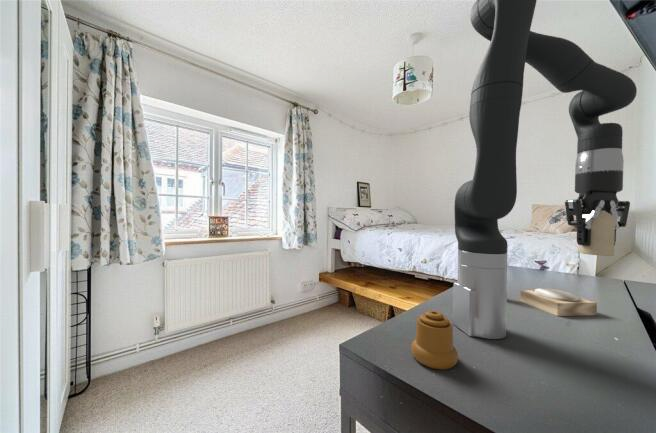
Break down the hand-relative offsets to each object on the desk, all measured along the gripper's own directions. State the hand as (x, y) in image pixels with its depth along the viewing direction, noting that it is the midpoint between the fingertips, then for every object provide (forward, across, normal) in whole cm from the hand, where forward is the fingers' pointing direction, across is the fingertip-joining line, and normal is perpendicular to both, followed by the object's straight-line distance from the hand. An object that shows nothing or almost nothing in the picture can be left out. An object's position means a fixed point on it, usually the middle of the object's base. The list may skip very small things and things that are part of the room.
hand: (596, 245), depth 58 cm
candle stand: (+19, +3, +11) cm, 22 cm away
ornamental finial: (+19, -44, -10) cm, 49 cm away
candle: (+2, 0, 0) cm, 2 cm away
